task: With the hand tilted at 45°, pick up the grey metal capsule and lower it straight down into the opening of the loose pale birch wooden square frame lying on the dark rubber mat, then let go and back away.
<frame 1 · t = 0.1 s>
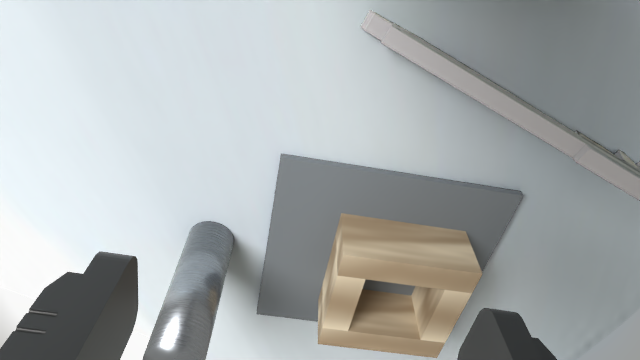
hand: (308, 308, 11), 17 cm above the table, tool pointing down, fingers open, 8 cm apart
wooden square frame: (387, 267, 33), resting on mat
caliper: (512, 98, 27), on the table
mat: (375, 256, 33), on the table
grey metal capsule: (211, 238, 32), on the table
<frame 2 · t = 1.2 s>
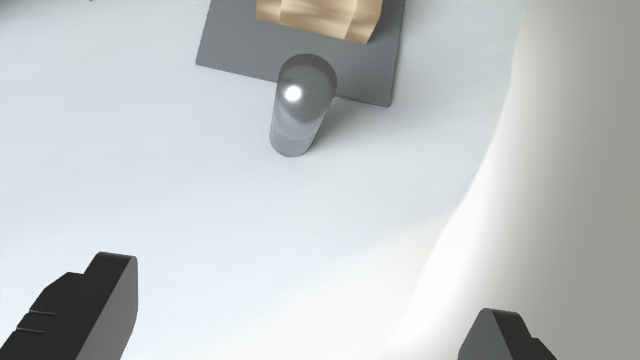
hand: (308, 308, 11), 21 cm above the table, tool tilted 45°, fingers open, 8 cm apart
grey metal capsule: (291, 136, 34), on the table
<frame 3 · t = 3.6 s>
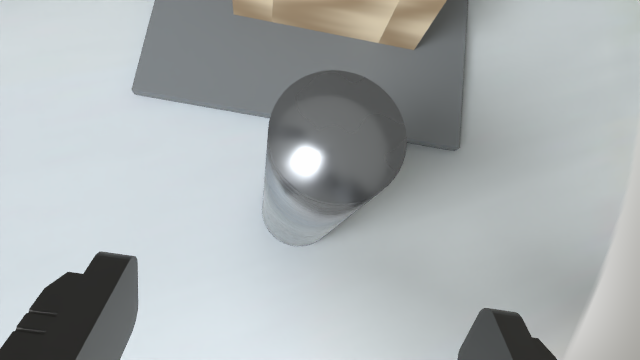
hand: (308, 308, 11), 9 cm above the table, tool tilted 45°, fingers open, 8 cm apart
grey metal capsule: (298, 209, 20), on the table
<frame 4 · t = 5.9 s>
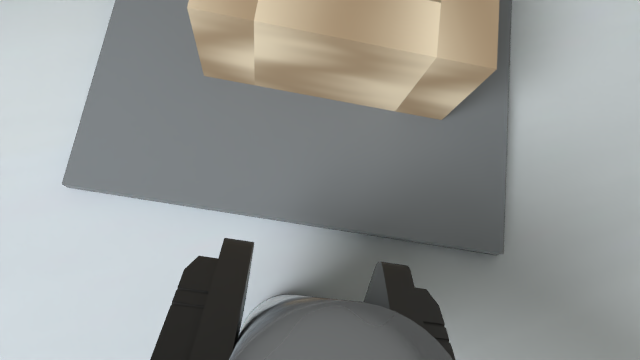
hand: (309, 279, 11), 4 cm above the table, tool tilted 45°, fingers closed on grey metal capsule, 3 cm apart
mat: (322, 22, 18), on the table
grey metal capsule: (287, 345, 15), on the table, touching gripper
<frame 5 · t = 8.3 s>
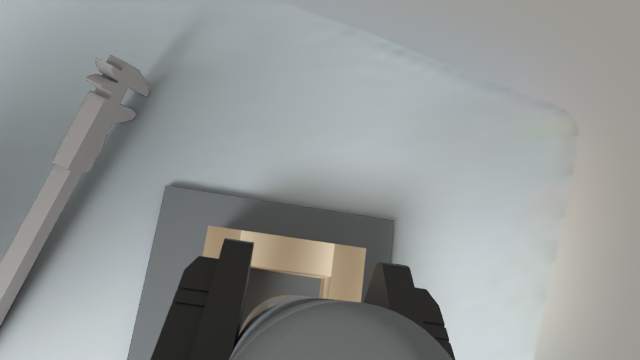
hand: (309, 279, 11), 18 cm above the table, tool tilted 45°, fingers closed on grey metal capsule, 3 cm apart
wooden square frame: (273, 315, 28), resting on mat
caliper: (61, 223, 28), on the table
mat: (263, 331, 28), on the table
grey metal capsule: (287, 345, 15), point 14 cm above the table, touching gripper
when the fingers open (6 cm above the table, at t = 10.8 s): grey metal capsule drops 2 cm, resting on mat.
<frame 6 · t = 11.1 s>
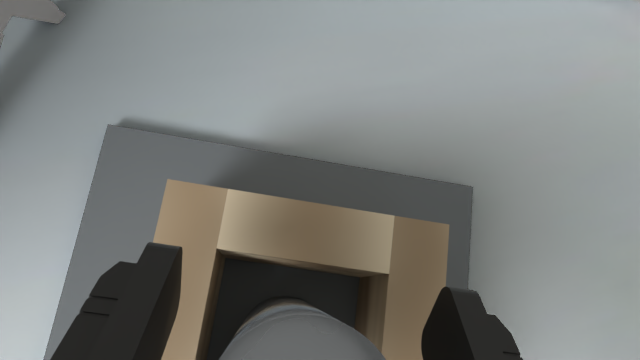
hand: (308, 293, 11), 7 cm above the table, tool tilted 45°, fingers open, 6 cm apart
wooden square frame: (283, 339, 17), resting on mat
grey metal capsule: (282, 340, 17), point 1 cm above the table, touching mat
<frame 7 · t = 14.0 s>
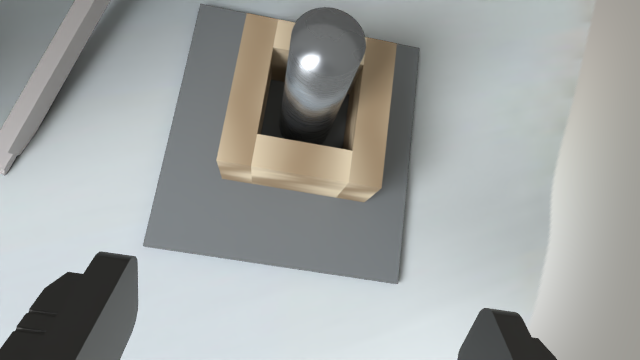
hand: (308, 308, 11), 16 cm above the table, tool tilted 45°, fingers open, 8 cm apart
wooden square frame: (304, 124, 29), resting on mat
caliper: (98, 38, 29), on the table
mat: (294, 139, 29), on the table
grey metal capsule: (304, 124, 29), resting on mat
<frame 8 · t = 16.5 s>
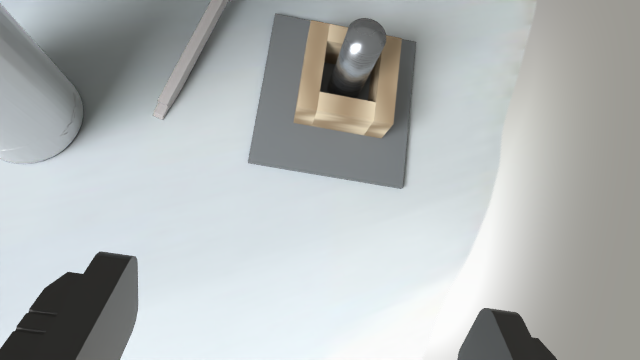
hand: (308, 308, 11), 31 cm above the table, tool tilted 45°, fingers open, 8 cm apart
wooden square frame: (343, 89, 45), resting on mat
caliper: (211, 36, 46), on the table
mat: (336, 100, 45), on the table
grey metal capsule: (343, 90, 45), resting on mat
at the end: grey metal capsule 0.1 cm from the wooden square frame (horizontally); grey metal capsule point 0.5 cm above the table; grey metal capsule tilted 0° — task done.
